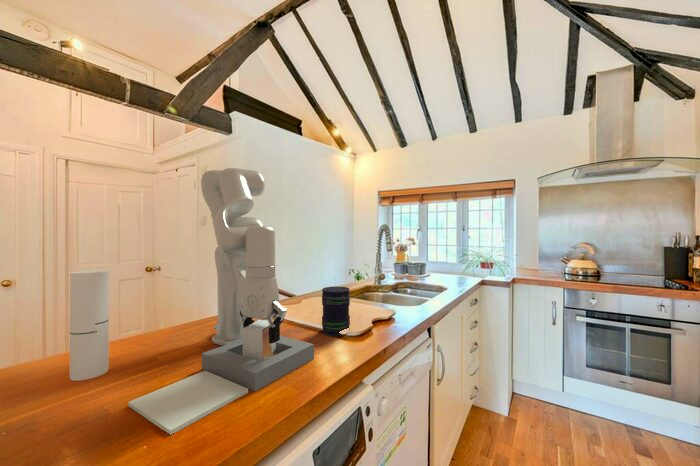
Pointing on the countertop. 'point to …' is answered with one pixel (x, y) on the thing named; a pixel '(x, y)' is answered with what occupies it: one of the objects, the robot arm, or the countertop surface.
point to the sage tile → (187, 400)
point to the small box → (258, 341)
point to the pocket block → (257, 362)
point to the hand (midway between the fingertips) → (261, 338)
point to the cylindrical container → (89, 324)
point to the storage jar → (335, 310)
